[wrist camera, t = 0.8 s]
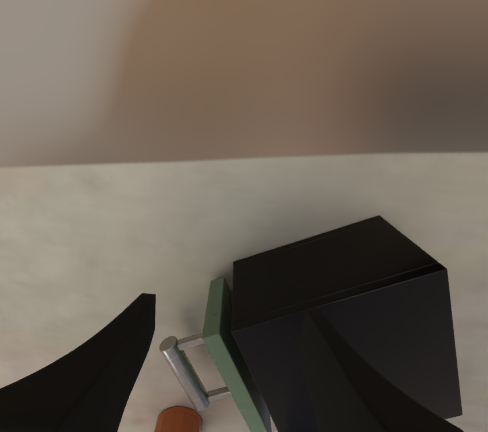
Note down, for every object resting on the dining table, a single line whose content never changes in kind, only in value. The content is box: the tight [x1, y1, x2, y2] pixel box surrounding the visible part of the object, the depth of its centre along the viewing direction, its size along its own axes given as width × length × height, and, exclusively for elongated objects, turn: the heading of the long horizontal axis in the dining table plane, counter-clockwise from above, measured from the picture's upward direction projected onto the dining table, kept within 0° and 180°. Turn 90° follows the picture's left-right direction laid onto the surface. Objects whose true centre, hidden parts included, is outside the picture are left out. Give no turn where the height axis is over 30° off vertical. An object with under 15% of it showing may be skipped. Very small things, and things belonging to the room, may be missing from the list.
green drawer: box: [159, 277, 272, 432], centre depth 22 cm, size 16×11×6 cm
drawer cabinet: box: [231, 216, 462, 432], centre depth 22 cm, size 12×12×8 cm
